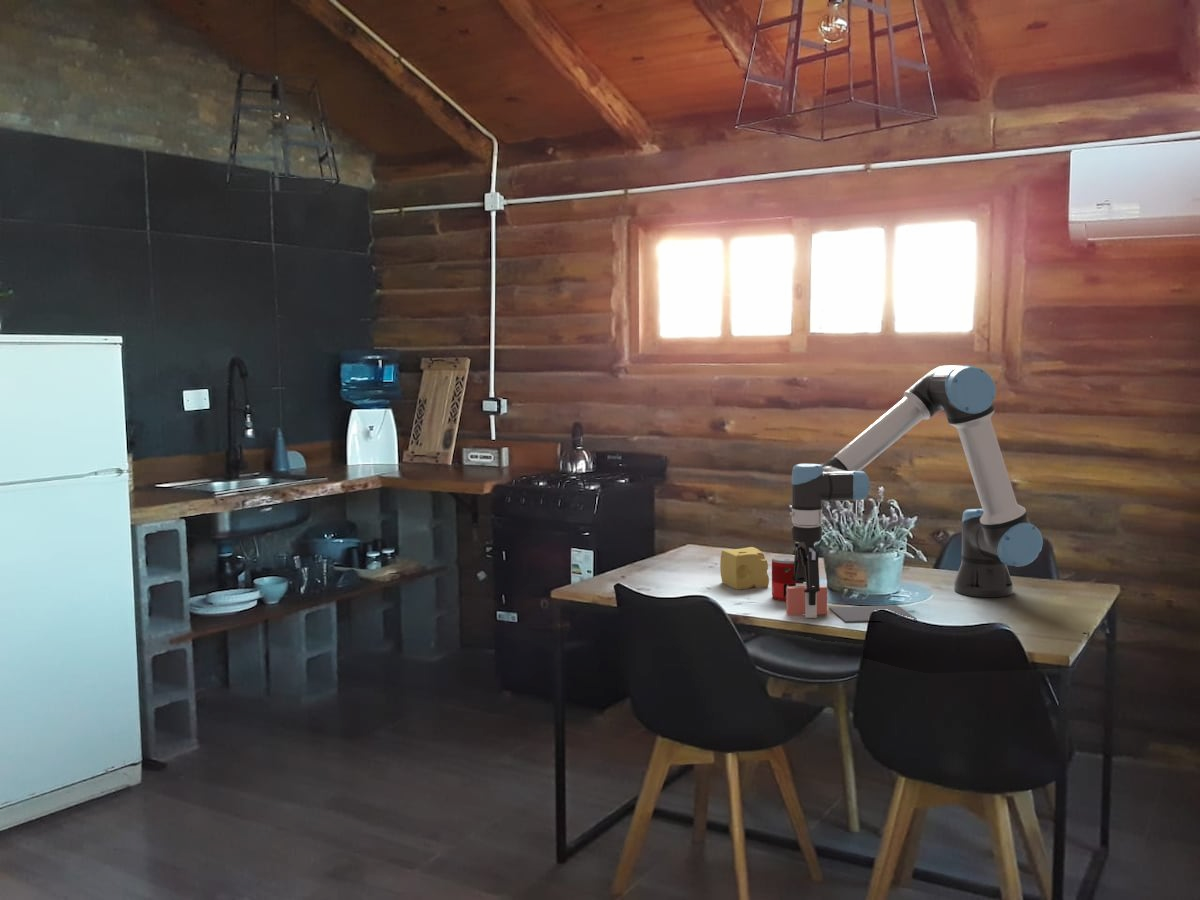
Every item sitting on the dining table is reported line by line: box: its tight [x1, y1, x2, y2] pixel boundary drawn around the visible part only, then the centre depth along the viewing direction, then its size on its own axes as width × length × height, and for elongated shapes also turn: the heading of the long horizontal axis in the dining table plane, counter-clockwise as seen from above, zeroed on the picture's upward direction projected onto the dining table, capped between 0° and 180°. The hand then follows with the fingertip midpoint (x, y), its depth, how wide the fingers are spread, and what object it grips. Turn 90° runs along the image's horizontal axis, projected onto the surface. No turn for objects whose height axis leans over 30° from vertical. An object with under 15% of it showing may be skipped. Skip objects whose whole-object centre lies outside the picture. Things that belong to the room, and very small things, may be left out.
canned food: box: [771, 554, 797, 602], centre depth 284 cm, size 8×8×11 cm
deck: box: [785, 585, 828, 616], centre depth 268 cm, size 10×2×7 cm, turn 94°
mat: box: [828, 604, 917, 623], centre depth 266 cm, size 18×14×1 cm
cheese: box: [719, 546, 770, 591], centre depth 301 cm, size 10×11×10 cm
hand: (805, 612), depth 268 cm, fingers open, 9 cm apart
